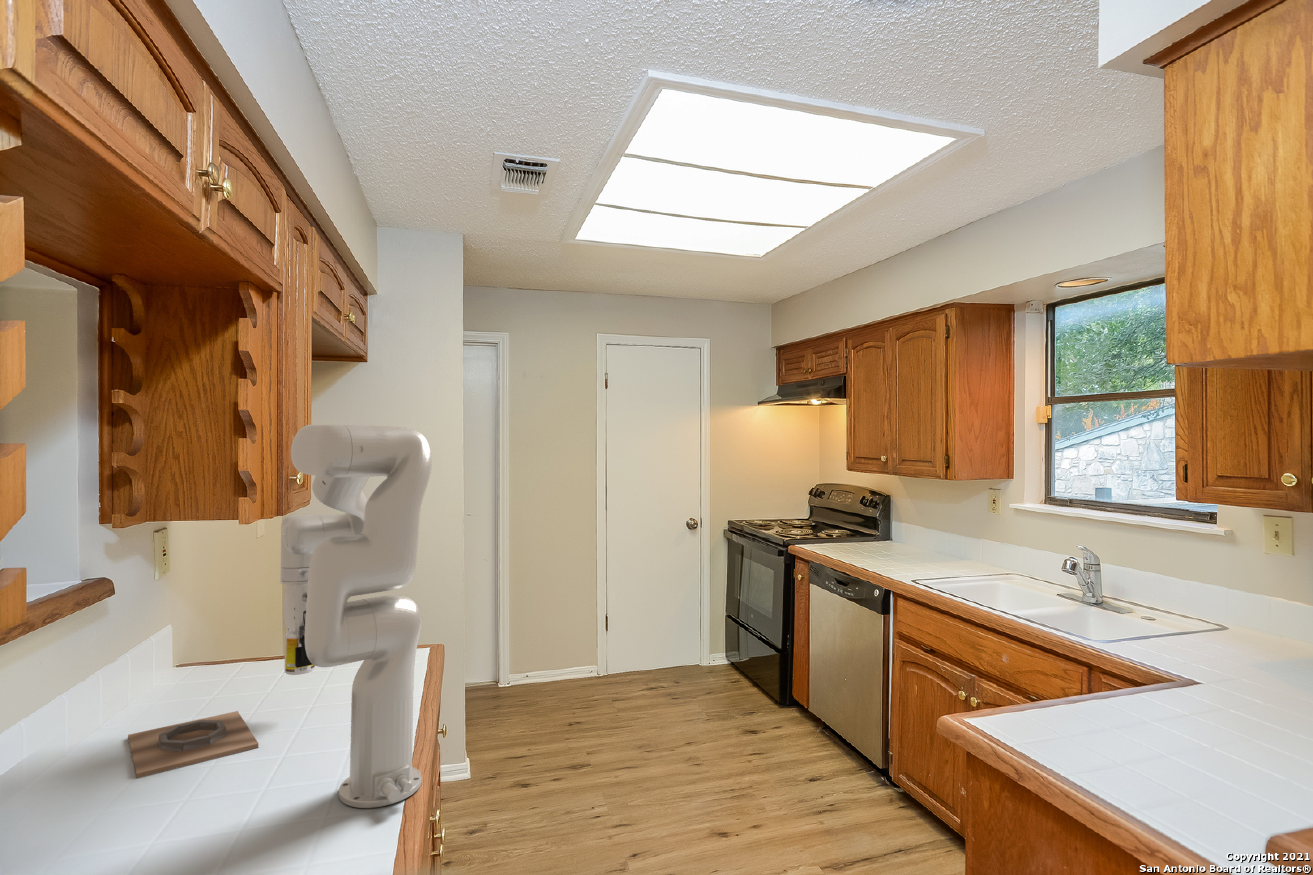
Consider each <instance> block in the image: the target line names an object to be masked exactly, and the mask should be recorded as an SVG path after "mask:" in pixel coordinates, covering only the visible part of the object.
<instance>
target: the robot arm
mask: <svg viewBox="0 0 1313 875" xmlns="http://www.w3.org/2000/svg"><path fill="white" fill-rule="evenodd" d="M290 458H291V463H292V465H293V467H294V468H295V469H296V470H297V471H298V472H299V473H301V474H304V475H308V476H314V479H313V481H312V492H313V494H314V497H315V498H316V499H317V500H318V501H319V502H320V503H321V504H323V505H325V507H328V508H331V509H333V510H336V511H340V512H343V513H338V514H336V513H335V514H333V513H332V514H319V515H317V514H310V513H308V514H293V515H287V516H285V517H284V518H282V520H281V525H280V580H279V581H280V584H281V585H284V601H283V602H284V604H283V619H284V620H283V621H284V625H285V627H286V628H287V632H289V631H290V630H292V631H293V632H295V633H296V635H297V647H295V666H296V667H297V668H298V667H303V666H309V665H312V664H313V665H315V667H318V668H332V667H337V666H342V665H347V664H352V663H356V662H361V661H362V663H361V664H360V666H359V668H358V670H357V671H356V674H355V676H354V678H353V679H354V680H352V686H351V710H350V711H351V712H350V714H351V716H350V757H349V758H350V760H349V776H348V777H347V778H345V780H343V782H342V783H340V786H339V789H338V798H339V799H340V802H342V803H343V804H345V805H347V806H349V807H353V808H360V809H373V808H379V807H386V806H390V805H393V804H396V803H398V802H402V801H403V800H405V799H407V798H409V797H410V796H413V795H414V794H415V793H416V792H417V791H418V790H419V789H420V787H421V784H422V776H423V775H422V773H421V771H420V770H419V769H417V768H416V767H415V766H413V735H414V734H413V731H414V730H413V729H414V726H413V725H414V724H413V723H414V689H415V687H414V685H415V684H414V682H415V664H416V656H417V655H416V654H417V648H418V645H419V644H418V643H419V638H420V633H421V629H422V612H421V610H420V607H419V606H418V604H417V603H416V602H415V601H414V600H413V599H412V598H411V597H408V596H406V595H397V594H390V595H389V594H388V595H383V596H382V595H381V596H375V597H370V598H363V599H362V598H361V599H358V600H350V601H349V599H350V598H351V597H356V596H363V595H369V594H374V593H375V594H376V593H381V592H388V591H393V590H398V589H401V588H404V587H407V586H408V585H410V583H411V581H413V578H414V575H415V571H416V565H417V564H416V563H417V558H418V557H417V555H418V545H419V544H418V543H419V534H420V520H421V518H420V517H421V509H422V508H421V507H422V504H423V499H424V496H425V493H426V490H427V487H428V484H429V480H430V477H431V474H432V472H431V471H432V465H433V464H432V463H433V458H432V451H431V446H430V444H429V440H428V439H427V438H426V437H425V436H424V435H423V434H422V433H421V432H419V431H417V430H415V429H412V428H408V427H401V426H389V425H388V426H387V425H385V426H384V425H353V424H352V425H349V424H314V423H313V424H307V425H304V426H302V427H301V428H300V429H299V430H298V431H297V433H296V434H295V436H294V438H293V440H292V443H291V446H290ZM370 477H386V478H385V479H384V480H383V481H382V482H381V483H380V484H379V485H378V486H377V487H376V488H375V490H374V491H373V492H372V493H371V494H370V496H369V498H367V496H366V494H365V493H364V491H363V490H364V488H365V487H366V484H367V483H368V480H369V478H370ZM299 626H300V627H299ZM300 628H305V630H304V631H300ZM302 634H305V635H303V636H302V639H301V635H302Z"/></svg>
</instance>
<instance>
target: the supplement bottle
mask: <svg viewBox="0 0 1313 875" xmlns="http://www.w3.org/2000/svg"><path fill="white" fill-rule="evenodd" d="M299 627H300V626H299ZM304 630H305V628H300V631H304ZM303 635H305V634H302V635H301V639H302V636H303ZM295 647H297V635H296V633H295V632H293V631H292V630H290V631H289V632H288V631H287V632H286V633H285V636H284V673H285V674H286V675H291V676H298V675H304V674H308V673H310V672H313V670H315V667H316V666H315V665H313V664H312V665H309V666H303V667H298V668H297V667H296V666H295Z"/></svg>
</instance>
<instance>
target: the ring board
mask: <svg viewBox="0 0 1313 875" xmlns="http://www.w3.org/2000/svg"><path fill="white" fill-rule="evenodd" d="M128 740H129V741H128ZM127 741H128V745H130V746H129V750H130V749H131V750H130V754H132V755H131V758H132V759H133V760H132V764H133V768H134V774H135V778H136V779H139V778H144V777H147V776H152V775H155V774H159V773H163V772H167V771H171V770H175V769H176V770H177V769H179V768H184V767H187V766H191V765H194V764H199V763H203V762H207V761H210V760H215V759H218V758H223V757H227V756H231V755H235V754H239V753H243V752H246V751H250V750H254V749H258V748H259V741H258V740H257V738H256V737H255V736H254V734H253V732H252V731H251V729H250V728H249V726H248V725H247V723H246V722H245V720H244V719H243V717H242V715H241V714H240V712H239V711H238V710H236V711H232V712H226V713H222V714H218V715H217V714H216V715H213V716H212V715H211V716H209V717H205V718H199V719H198V718H197V719H195V720H190V721H186V722H180V723H176V724H171V725H166V726H162V727H158V728H153V729H152V728H151V729H149V730H144V731H140V732H139V731H138V732H134V733H129V734H128V735H127Z"/></svg>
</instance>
